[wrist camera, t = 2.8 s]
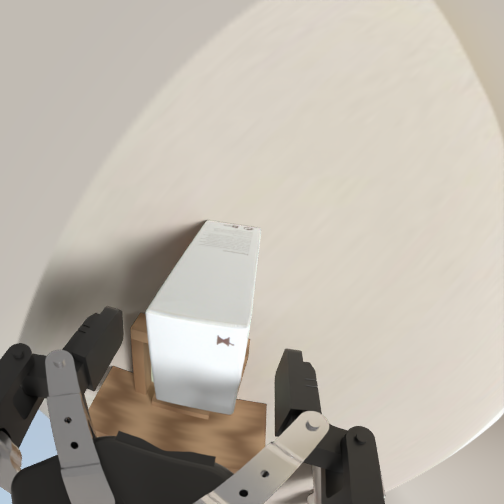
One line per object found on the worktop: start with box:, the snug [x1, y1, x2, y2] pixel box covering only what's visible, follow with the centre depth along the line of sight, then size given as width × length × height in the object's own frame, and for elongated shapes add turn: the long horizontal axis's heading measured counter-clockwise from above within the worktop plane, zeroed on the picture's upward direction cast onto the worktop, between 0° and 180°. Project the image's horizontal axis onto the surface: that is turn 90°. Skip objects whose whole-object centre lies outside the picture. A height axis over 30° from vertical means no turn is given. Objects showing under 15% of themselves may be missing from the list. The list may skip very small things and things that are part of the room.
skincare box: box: [146, 220, 261, 415], centre depth 17 cm, size 6×4×12 cm
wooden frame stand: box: [89, 313, 267, 474], centre depth 23 cm, size 18×11×9 cm, turn 78°
